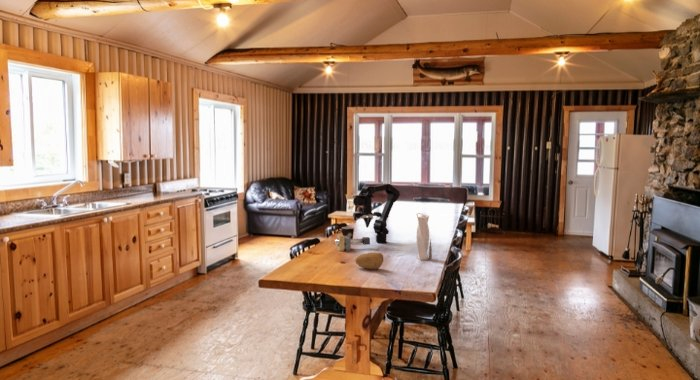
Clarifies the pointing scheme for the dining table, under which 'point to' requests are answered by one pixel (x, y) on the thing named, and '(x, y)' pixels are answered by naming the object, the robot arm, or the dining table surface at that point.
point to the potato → (370, 260)
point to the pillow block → (347, 243)
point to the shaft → (357, 241)
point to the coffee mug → (347, 231)
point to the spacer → (340, 242)
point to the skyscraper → (423, 238)
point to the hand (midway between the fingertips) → (367, 227)
